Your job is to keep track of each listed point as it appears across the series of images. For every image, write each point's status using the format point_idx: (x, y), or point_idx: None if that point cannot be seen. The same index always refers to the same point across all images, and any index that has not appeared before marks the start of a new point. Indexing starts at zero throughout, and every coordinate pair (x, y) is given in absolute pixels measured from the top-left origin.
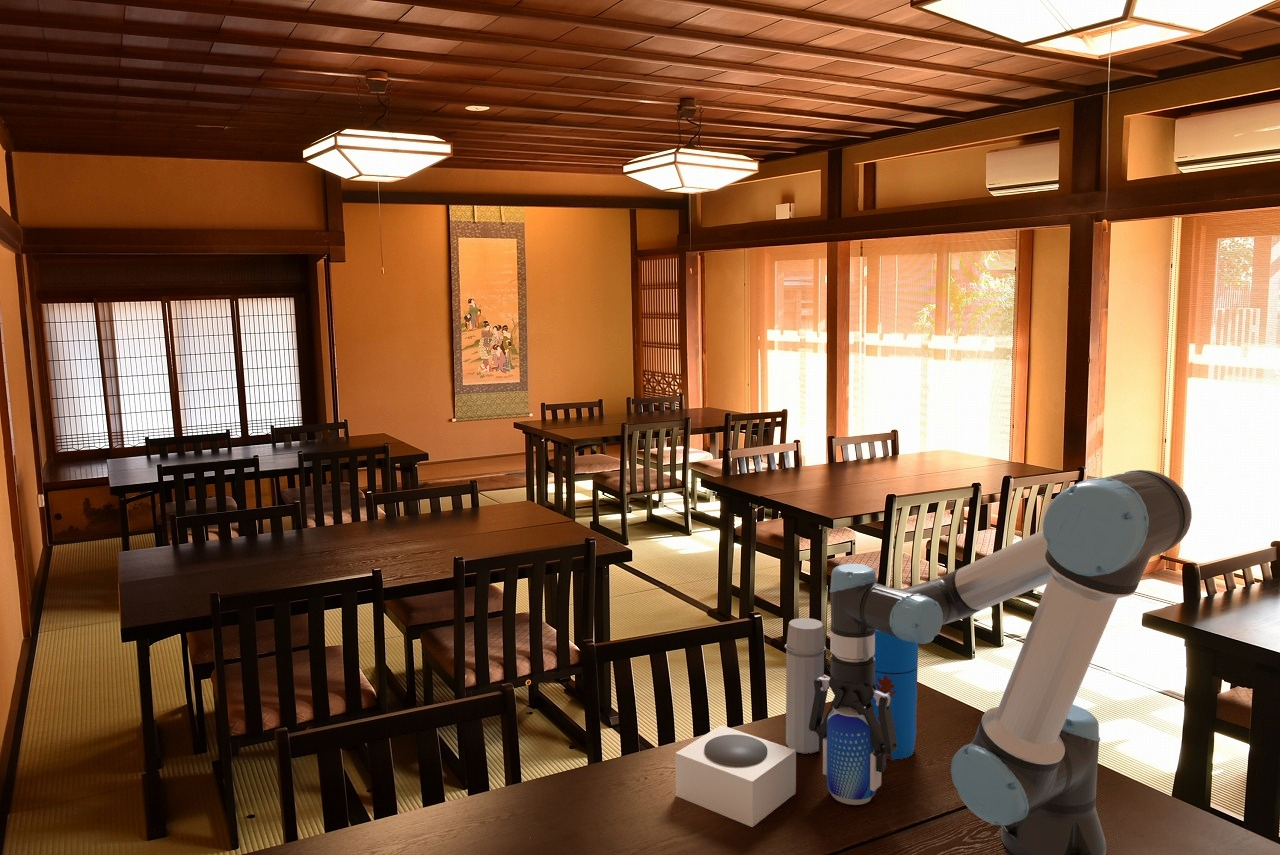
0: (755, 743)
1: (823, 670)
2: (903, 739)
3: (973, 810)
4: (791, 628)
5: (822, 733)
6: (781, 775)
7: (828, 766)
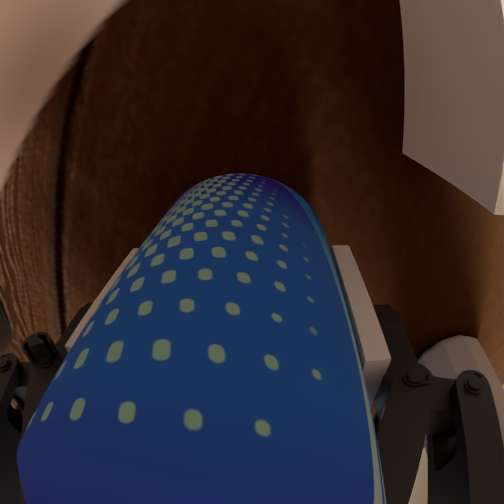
0: None
1: None
2: None
3: None
4: None
5: (403, 387)
6: (459, 52)
7: (309, 237)
